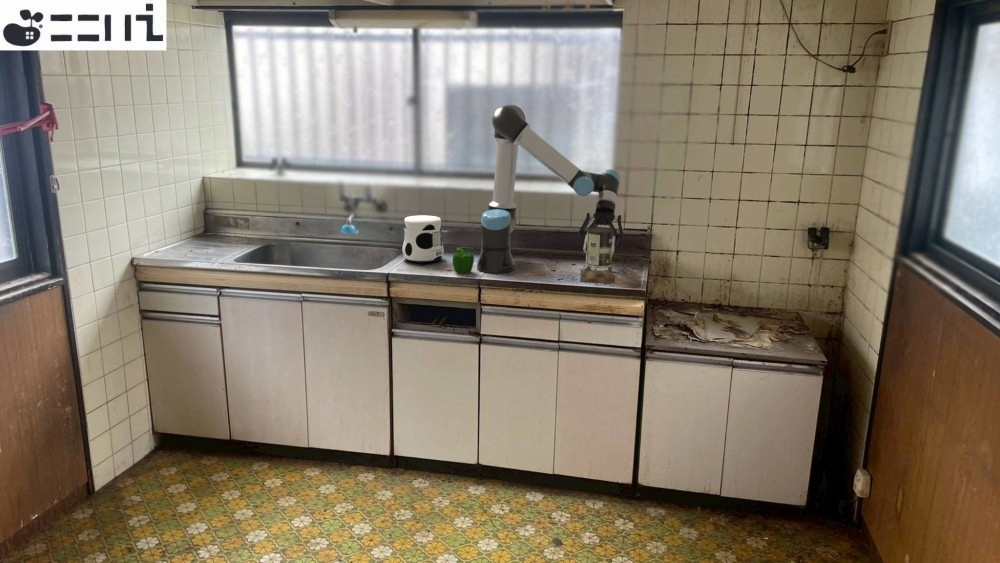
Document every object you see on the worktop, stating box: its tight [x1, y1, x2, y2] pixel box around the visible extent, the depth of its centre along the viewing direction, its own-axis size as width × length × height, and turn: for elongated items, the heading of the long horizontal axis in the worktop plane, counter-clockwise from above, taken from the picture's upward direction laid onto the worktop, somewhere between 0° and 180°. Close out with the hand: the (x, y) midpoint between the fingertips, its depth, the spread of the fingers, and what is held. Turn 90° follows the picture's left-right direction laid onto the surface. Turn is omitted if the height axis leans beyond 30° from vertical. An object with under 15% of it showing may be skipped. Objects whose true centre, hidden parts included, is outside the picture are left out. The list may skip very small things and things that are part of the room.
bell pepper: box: [452, 247, 475, 275], centre depth 282 cm, size 8×8×10 cm
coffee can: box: [585, 226, 614, 269], centre depth 275 cm, size 10×10×14 cm
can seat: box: [579, 265, 616, 284], centre depth 278 cm, size 13×13×5 cm
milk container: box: [401, 214, 445, 264], centre depth 300 cm, size 17×17×18 cm
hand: (598, 251), depth 273 cm, fingers closed on coffee can, 10 cm apart
